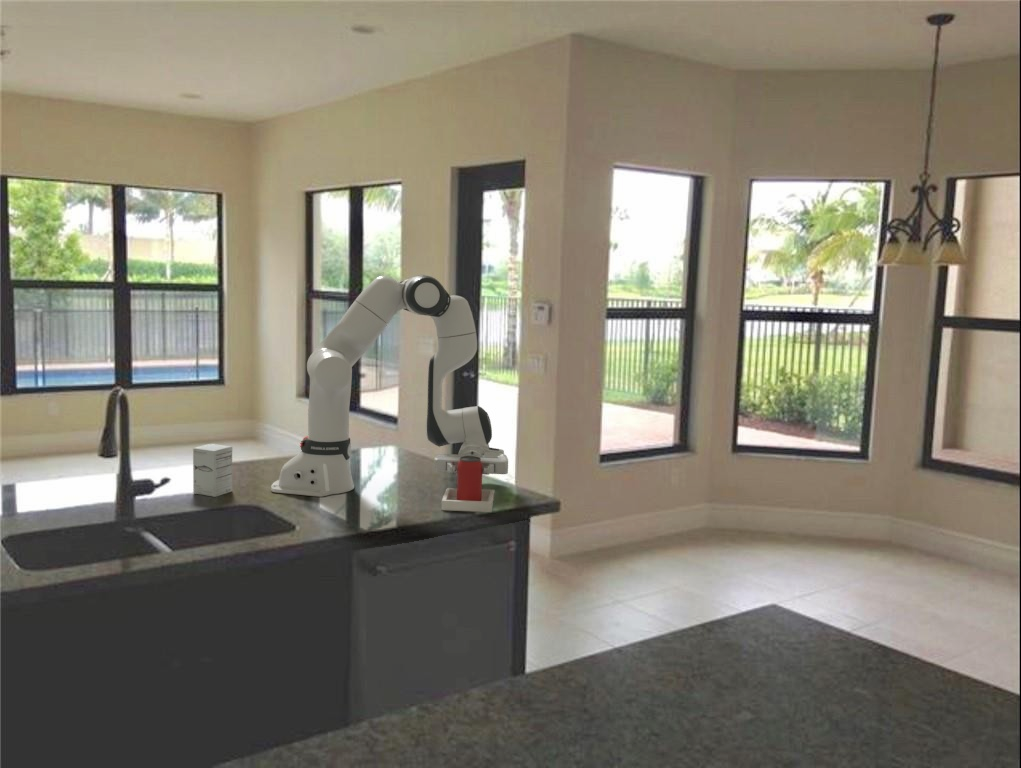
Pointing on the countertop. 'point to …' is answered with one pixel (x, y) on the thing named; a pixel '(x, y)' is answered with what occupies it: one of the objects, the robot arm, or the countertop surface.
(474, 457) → the beer can
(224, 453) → the supplement box
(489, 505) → the tray
